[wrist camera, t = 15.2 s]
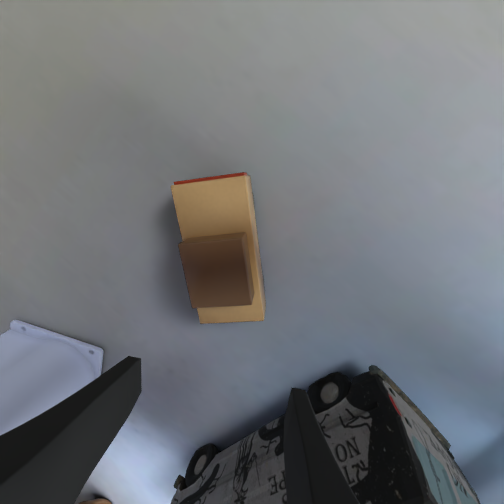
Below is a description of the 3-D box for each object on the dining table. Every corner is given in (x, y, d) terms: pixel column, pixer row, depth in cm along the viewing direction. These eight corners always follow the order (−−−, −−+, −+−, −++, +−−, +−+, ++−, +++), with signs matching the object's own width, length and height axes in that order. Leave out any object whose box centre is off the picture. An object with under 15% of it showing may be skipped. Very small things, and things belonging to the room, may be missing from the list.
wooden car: (266, 299, 20) (262, 335, 16) (211, 302, 21) (192, 337, 16) (251, 172, 17) (240, 171, 13) (187, 181, 18) (156, 182, 14)
